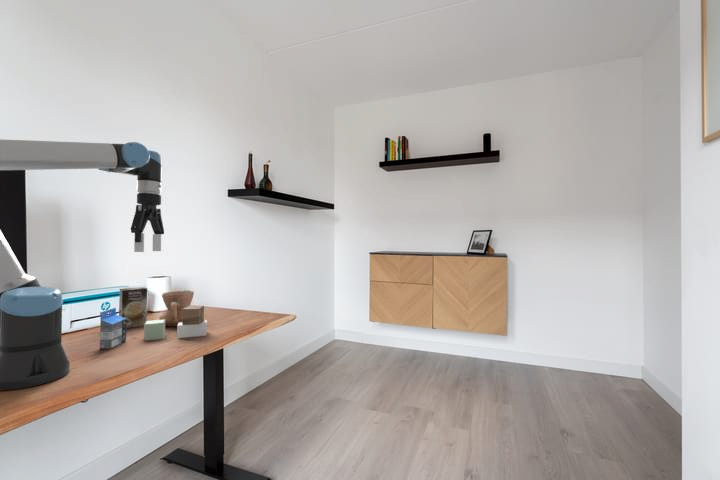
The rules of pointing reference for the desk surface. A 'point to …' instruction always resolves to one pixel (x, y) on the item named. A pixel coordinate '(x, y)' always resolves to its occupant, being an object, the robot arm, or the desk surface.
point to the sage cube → (154, 329)
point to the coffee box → (133, 306)
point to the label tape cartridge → (112, 329)
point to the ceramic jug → (175, 305)
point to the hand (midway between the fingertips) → (148, 251)
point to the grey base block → (192, 330)
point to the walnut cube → (192, 315)
